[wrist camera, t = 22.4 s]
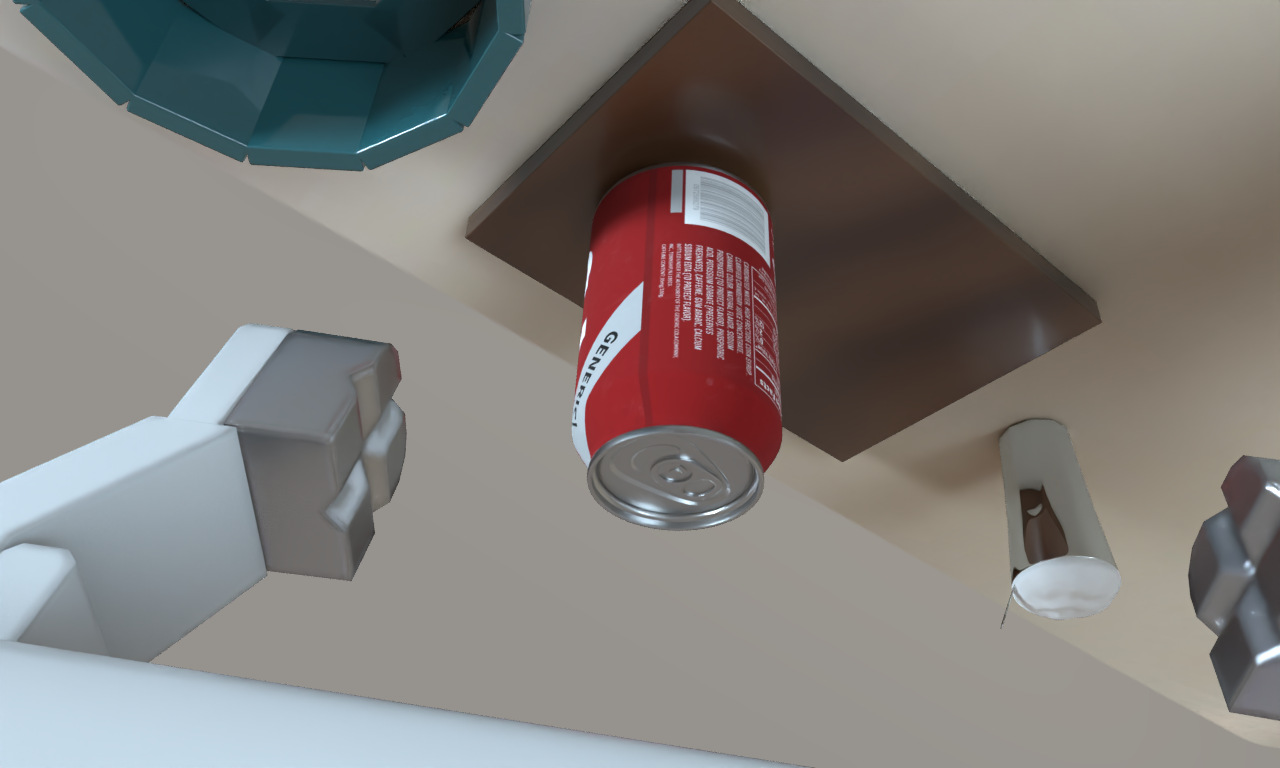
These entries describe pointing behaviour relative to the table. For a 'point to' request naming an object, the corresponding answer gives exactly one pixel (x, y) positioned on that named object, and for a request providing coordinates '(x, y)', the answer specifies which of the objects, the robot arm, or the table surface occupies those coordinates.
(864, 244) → the serving board
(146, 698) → the robot arm
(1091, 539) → the milkshake
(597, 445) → the soda can
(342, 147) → the bowl
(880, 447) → the table surface
